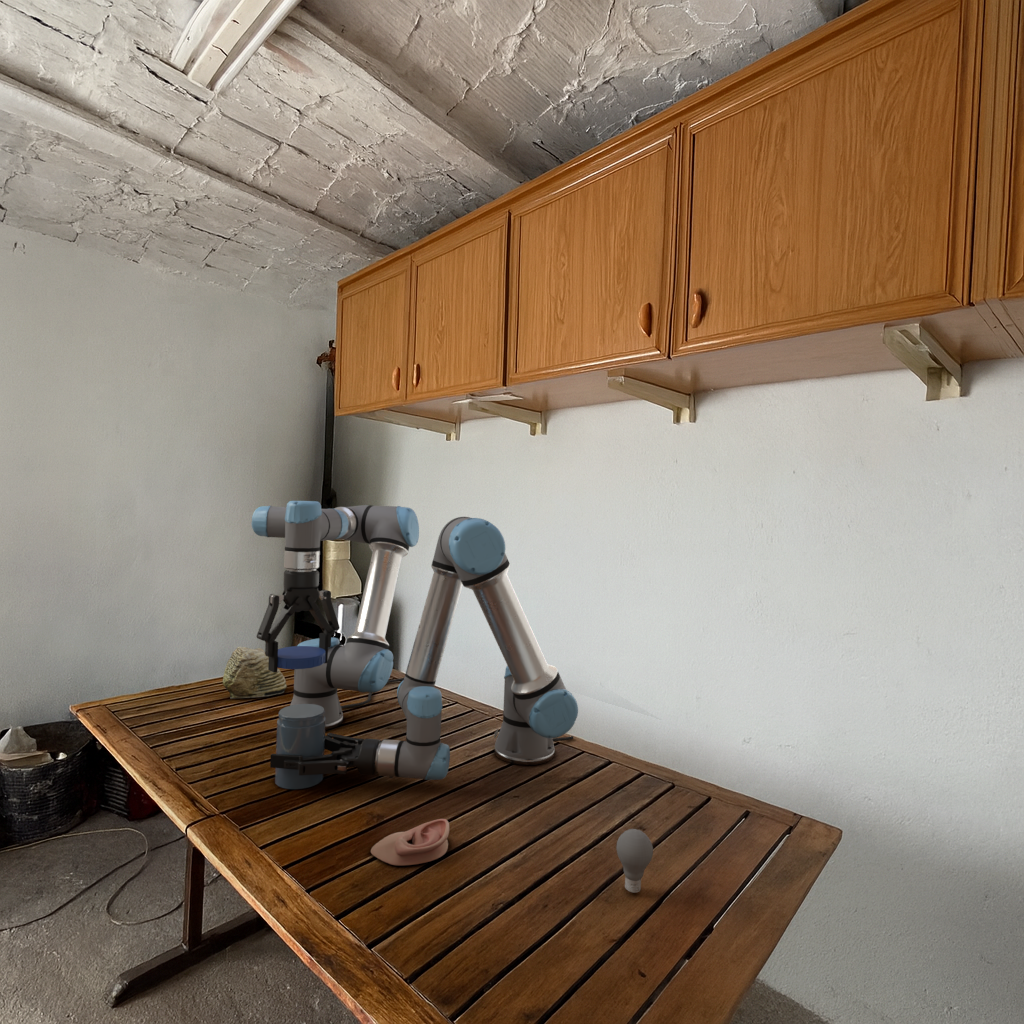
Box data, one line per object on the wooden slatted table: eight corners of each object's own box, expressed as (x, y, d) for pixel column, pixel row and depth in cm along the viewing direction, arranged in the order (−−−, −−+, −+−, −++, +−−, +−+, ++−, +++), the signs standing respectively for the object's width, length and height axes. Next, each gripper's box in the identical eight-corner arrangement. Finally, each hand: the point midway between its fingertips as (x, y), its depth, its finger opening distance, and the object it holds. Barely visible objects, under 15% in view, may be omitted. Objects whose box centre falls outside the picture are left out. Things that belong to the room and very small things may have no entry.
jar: (300, 765, 149) (302, 700, 148) (333, 775, 144) (335, 708, 144) (264, 781, 140) (267, 712, 139) (298, 793, 135) (301, 721, 134)
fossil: (218, 695, 195) (220, 647, 195) (278, 685, 208) (279, 640, 207) (228, 703, 189) (230, 653, 188) (289, 692, 201) (290, 645, 201)
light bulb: (610, 879, 108) (613, 822, 108) (644, 879, 109) (647, 822, 109) (619, 902, 102) (622, 840, 102) (655, 901, 103) (658, 840, 103)
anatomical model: (363, 838, 111) (389, 807, 122) (362, 860, 111) (388, 827, 122) (436, 849, 108) (455, 817, 119) (435, 872, 108) (454, 838, 119)
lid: (260, 664, 139) (260, 654, 139) (295, 653, 150) (295, 643, 150) (302, 672, 135) (303, 661, 135) (335, 659, 146) (336, 649, 146)
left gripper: (256, 574, 131) (253, 679, 131) (357, 568, 148) (353, 661, 148) (241, 570, 136) (238, 671, 136) (340, 565, 153) (337, 654, 153)
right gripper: (363, 798, 129) (257, 790, 131) (391, 753, 152) (301, 747, 153) (364, 761, 129) (259, 754, 130) (393, 722, 152) (303, 716, 153)
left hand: (298, 666), depth 142 cm, fingers closed on lid, 11 cm apart
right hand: (282, 750), depth 142 cm, fingers closed on jar, 10 cm apart
